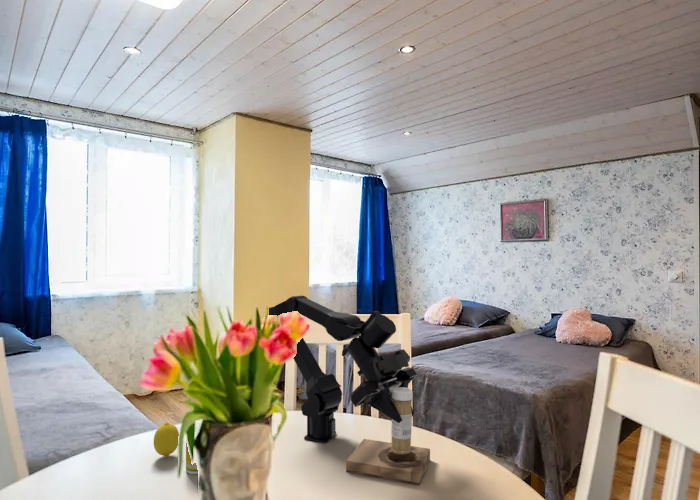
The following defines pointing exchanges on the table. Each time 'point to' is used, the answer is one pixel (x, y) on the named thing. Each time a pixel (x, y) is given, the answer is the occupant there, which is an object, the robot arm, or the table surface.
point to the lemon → (166, 439)
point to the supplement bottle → (189, 467)
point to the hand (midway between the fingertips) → (406, 418)
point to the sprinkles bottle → (402, 429)
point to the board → (388, 462)
